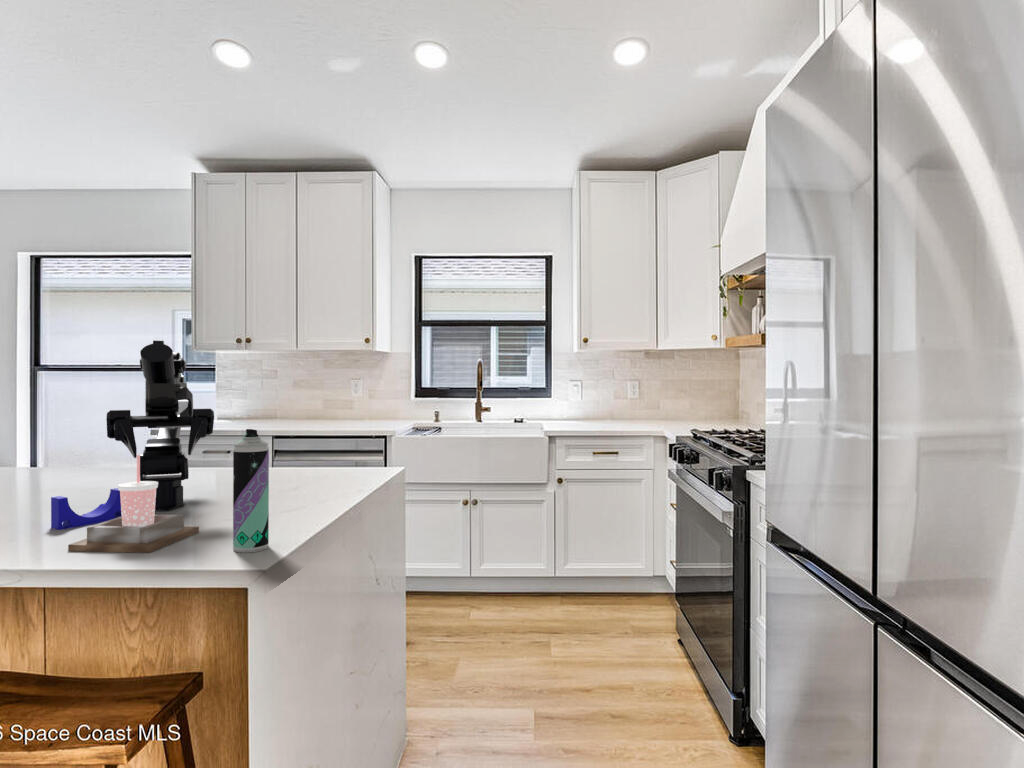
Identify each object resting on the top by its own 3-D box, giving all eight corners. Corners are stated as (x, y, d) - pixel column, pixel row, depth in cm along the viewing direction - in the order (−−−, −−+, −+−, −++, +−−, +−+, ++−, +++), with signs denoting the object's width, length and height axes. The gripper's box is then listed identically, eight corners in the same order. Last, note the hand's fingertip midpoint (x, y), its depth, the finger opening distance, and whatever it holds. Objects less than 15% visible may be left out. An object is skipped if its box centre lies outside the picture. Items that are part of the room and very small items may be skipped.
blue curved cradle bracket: (114, 516, 129) (114, 487, 129) (125, 518, 126) (125, 489, 126) (47, 527, 118) (47, 496, 118) (58, 530, 116) (58, 498, 116)
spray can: (225, 551, 102) (225, 429, 102) (248, 542, 107) (249, 427, 107) (253, 553, 100) (253, 430, 100) (275, 545, 106) (275, 428, 106)
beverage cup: (154, 537, 107) (154, 456, 107) (113, 540, 105) (113, 457, 104) (161, 529, 112) (161, 452, 112) (122, 532, 110) (122, 453, 110)
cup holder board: (68, 550, 102) (68, 529, 102) (126, 530, 116) (126, 511, 116) (149, 552, 101) (149, 531, 101) (199, 531, 115) (199, 513, 115)
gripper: (106, 368, 120) (104, 429, 111) (213, 370, 130) (219, 425, 120) (108, 407, 127) (106, 468, 117) (209, 406, 136) (214, 461, 127)
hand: (163, 455), depth 120 cm, fingers open, 9 cm apart
